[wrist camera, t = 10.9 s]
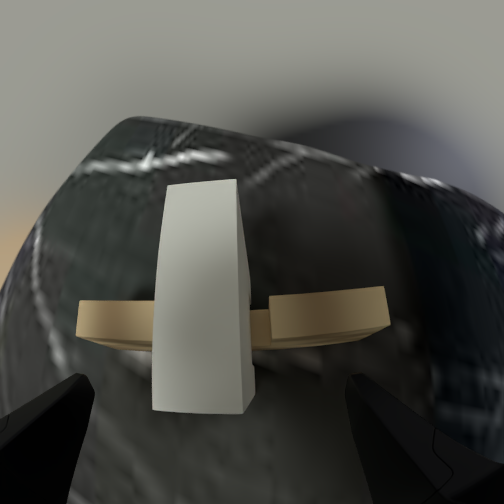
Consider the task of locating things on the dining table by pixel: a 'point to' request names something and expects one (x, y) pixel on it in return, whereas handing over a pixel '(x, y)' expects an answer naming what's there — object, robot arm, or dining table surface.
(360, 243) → the dining table surface
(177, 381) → the grey tapered block
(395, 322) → the dining table surface
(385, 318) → the notched base plate
